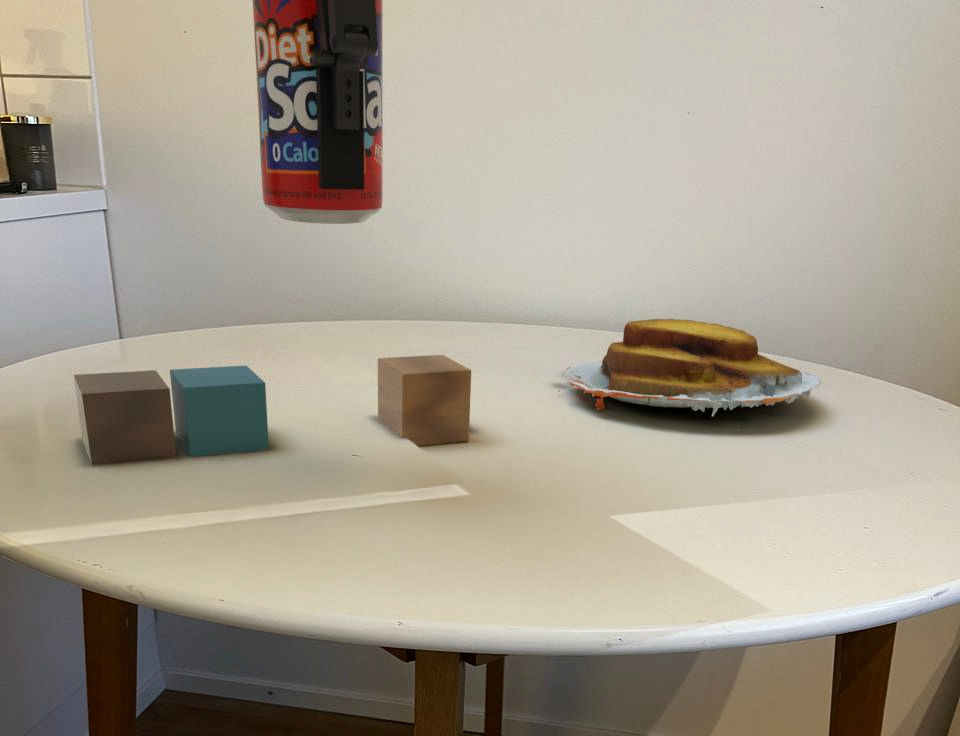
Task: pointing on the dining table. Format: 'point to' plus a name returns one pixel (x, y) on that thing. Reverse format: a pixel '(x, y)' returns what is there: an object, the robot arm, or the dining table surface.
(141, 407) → the walnut block
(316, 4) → the robot arm
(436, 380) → the oak block
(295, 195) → the soda can
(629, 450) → the dining table surface
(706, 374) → the food on plate
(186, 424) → the teal block
